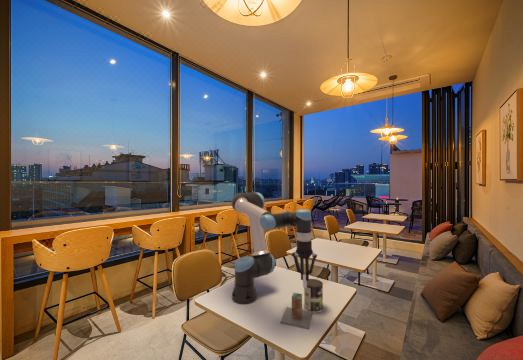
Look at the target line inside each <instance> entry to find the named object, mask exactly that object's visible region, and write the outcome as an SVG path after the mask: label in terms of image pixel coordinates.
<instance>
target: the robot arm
mask: <svg viewBox="0 0 523 360" xmlns="http://www.w3.org/2000/svg"><path fill="white" fill-rule="evenodd" d="M230 203H231V207H232V209H233V210H235V212H237V213H240V214H241V213H242V214H244V215H245V216H247V217H248V222H249V227H250V236H251V242H252V249H253V253H252V254H251V256H248V255H247V256H242V257H239V258H238V259H236V260H235V263H234V287H233V290H232V293H231V299H232V301H233V302H234V303H236V304H240V305H247V304H251V303H253V302H255V301H257V297H258V293H257V292H258V291H257V289H256V286H255V279H257V278H260V277H264V276H268V275H270V274H272V273H273V272H274V271H275V267H276V260H275V257H274V256H273V254H271V252H270V251H269V250H268V248H267V243H266V236H265V231H267V230H268V231H271V230H274V229H280V228H287V227H293V228H296V230H295V231H296V249H295V251H293V252H292V253H291V256H292V257H293V261H294V265H295V267H296V268H295V269H296V272H297V273H300V280H301V281H302V288H303V289H304V288H306V287H307V281H308V280H309V279H310V278H309V277H310V275H312V274H313V270H314V266H315V262H316V259H317V257H318V254H316V253H314V251H313V249H312V212H311V211H310V209H304V208H303V209H297V210H295V211H296V212H291V211H282V212H279V213H272V212H270V211H268V210H266V209H264V207H265V204H266V201H265V197H264V195H263V194H262V193H260V192H255V191H252V192H238V193H236V194H235V195H234V196H233V197H232V199H231V202H230ZM298 257H299V259H298ZM310 258H312V260H311V263H310V265H309V262H310V261H309V259H310ZM299 260H300V261H299ZM299 263H300V264H299ZM304 266H305V267H304Z"/></svg>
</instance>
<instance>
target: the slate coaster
mask: <svg viewBox="0 0 523 360" xmlns="http://www.w3.org/2000/svg"><path fill="white" fill-rule="evenodd" d="M312 315H313V313H312V311H307V310H306V309H302V316H301V320H299V319H294V318H292V307H290V306H286V307H285V310H284V311H283V314H282V316H281V319H280V322H279V323H280V324H283V325H288V326H291V327H297V328H303V329H306V330H309V328H310V323H311V320H312Z"/></svg>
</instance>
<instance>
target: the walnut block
mask: <svg viewBox="0 0 523 360" xmlns="http://www.w3.org/2000/svg"><path fill="white" fill-rule="evenodd" d="M291 308H292V318H294V319H299V320H301V316H302V310H303V293H299V292H293V293H292V295H291Z"/></svg>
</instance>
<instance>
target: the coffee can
mask: <svg viewBox="0 0 523 360" xmlns="http://www.w3.org/2000/svg"><path fill="white" fill-rule="evenodd" d="M323 285H324V284H323V282H322V281H321V280H319V279H315V278H309V280H308V281H307V287H306V288H303V292H304V297H303V298H304V299H303V300H304V304H303V307H304V310H306V311H312V314H318V313H321V312H323V309H324V307H323V306H324V305H323V302H324V301H323V300H324V299H323V296H324V295H323V294H324V293H323V289H324V288H323V287H324V286H323Z"/></svg>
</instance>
